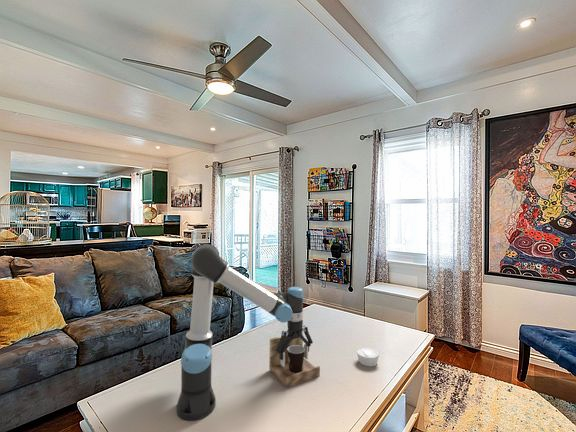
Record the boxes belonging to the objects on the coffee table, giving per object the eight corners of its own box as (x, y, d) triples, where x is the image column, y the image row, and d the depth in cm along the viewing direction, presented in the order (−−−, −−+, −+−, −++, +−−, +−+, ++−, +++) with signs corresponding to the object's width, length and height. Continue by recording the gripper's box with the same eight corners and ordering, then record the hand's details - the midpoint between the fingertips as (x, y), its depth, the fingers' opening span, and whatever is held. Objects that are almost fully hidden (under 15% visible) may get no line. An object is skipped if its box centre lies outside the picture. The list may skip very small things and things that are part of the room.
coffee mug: (303, 375, 135) (303, 354, 135) (285, 373, 136) (285, 352, 136) (306, 362, 146) (306, 343, 146) (289, 360, 148) (289, 341, 148)
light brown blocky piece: (286, 388, 129) (286, 353, 129) (269, 370, 143) (269, 338, 143) (319, 375, 139) (320, 343, 139) (300, 360, 153) (301, 330, 153)
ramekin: (353, 362, 152) (353, 352, 152) (363, 354, 160) (363, 345, 160) (372, 370, 144) (372, 360, 144) (382, 362, 152) (382, 352, 152)
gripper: (276, 327, 130) (276, 372, 131) (319, 317, 144) (319, 358, 144) (269, 321, 137) (268, 365, 137) (311, 312, 150) (310, 352, 150)
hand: (294, 361), depth 141 cm, fingers open, 13 cm apart
